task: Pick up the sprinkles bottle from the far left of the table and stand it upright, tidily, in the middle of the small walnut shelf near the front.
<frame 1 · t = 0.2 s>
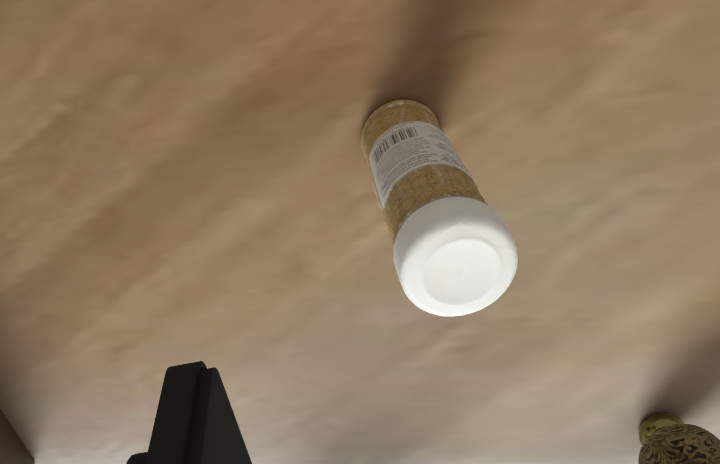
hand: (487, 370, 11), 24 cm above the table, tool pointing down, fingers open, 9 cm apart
cup: (655, 422, 50), on the table
sprinkles bottle: (399, 134, 34), on the table
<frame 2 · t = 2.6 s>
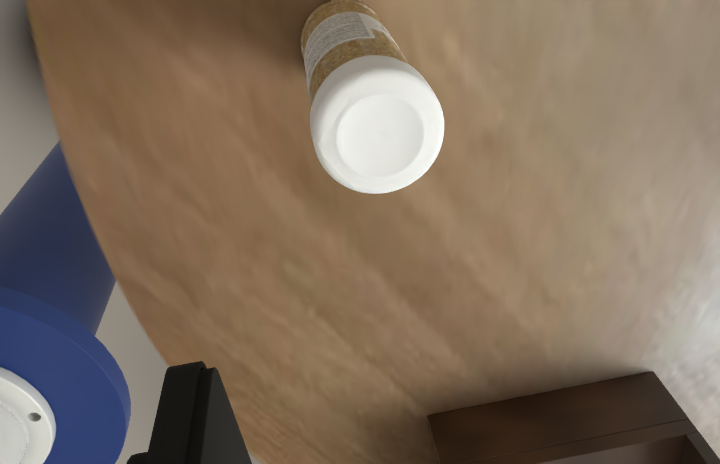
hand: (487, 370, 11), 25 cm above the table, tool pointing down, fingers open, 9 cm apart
sprinkles bottle: (342, 40, 32), on the table
shelf: (540, 436, 50), on the table
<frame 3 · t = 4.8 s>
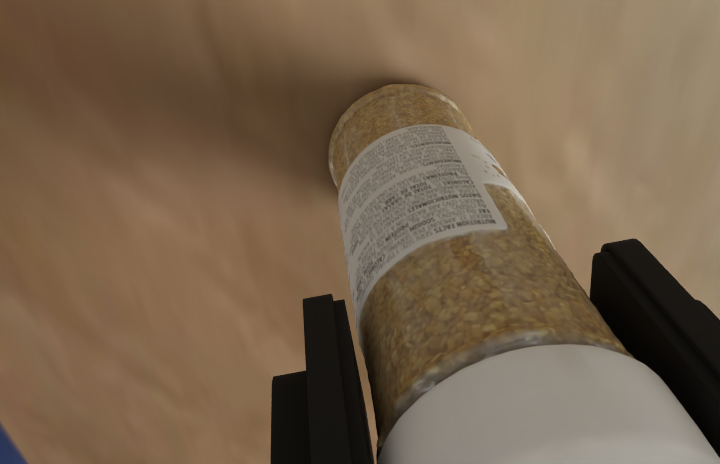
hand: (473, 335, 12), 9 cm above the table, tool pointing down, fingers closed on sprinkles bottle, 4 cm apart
sprinkles bottle: (397, 146, 19), on the table, touching gripper
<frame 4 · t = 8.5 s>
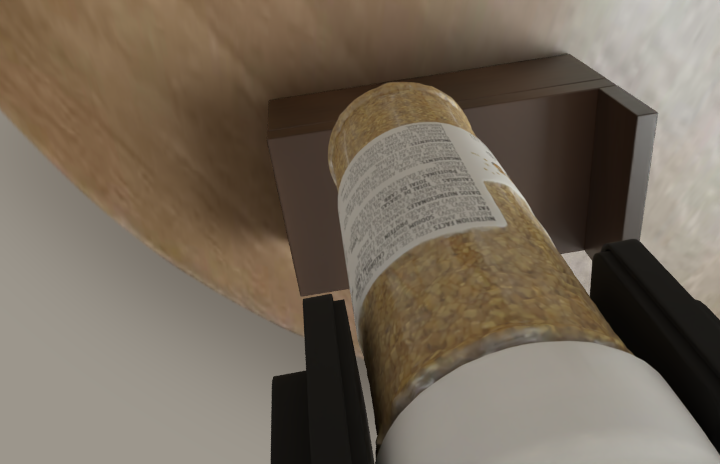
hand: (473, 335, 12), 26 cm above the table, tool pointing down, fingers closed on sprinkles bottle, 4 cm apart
sprinkles bottle: (396, 145, 19), point 17 cm above the table, touching gripper
shelf: (425, 154, 39), on the table
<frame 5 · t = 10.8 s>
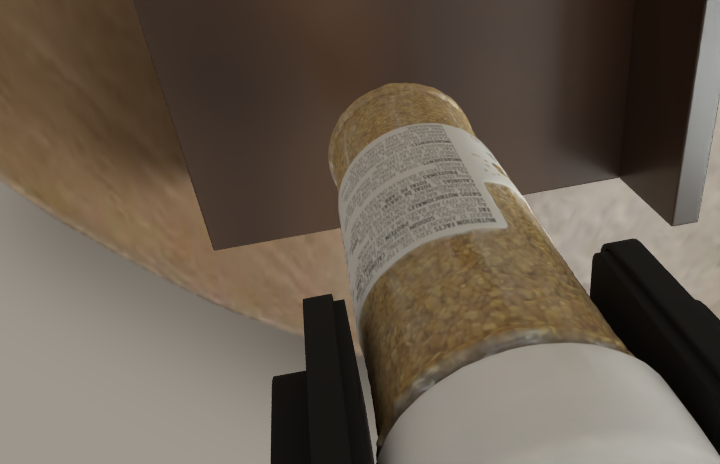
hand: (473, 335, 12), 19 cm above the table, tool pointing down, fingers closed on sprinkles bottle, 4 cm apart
sprinkles bottle: (397, 146, 19), point 10 cm above the table, touching gripper
shelf: (393, 53, 28), on the table
when the fingers open (15 cm above the table, at t = 12.2 s): sprinkles bottle stays where it is, resting on shelf.
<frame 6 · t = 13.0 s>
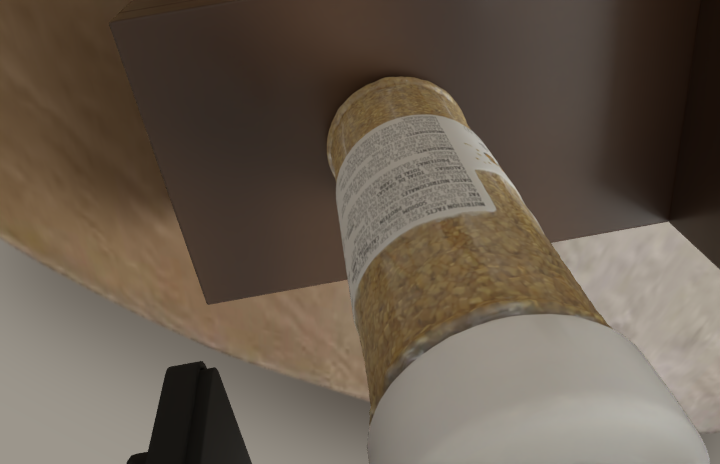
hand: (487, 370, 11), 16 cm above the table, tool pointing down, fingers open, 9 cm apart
sprinkles bottle: (393, 138, 20), point 6 cm above the table, touching shelf
shelf: (409, 77, 25), on the table
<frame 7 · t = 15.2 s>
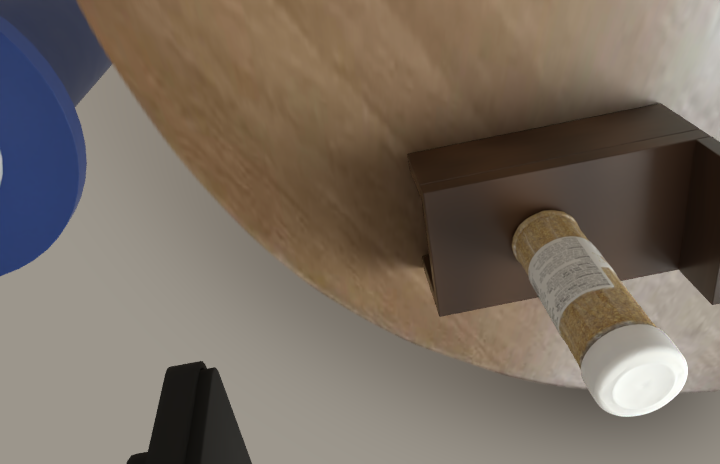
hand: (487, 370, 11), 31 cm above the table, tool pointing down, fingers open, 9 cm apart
sprinkles bottle: (542, 235, 40), point 6 cm above the table, touching shelf
shelf: (535, 190, 45), on the table
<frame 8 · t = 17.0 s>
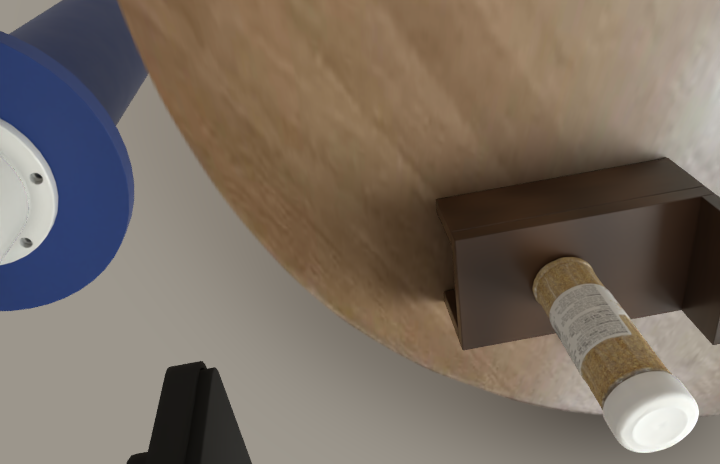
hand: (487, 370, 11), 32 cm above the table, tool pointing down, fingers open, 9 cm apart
sprinkles bottle: (559, 278, 44), point 6 cm above the table, touching shelf
shelf: (550, 233, 49), on the table
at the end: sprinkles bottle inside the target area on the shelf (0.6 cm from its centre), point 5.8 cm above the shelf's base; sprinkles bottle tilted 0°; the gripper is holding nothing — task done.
